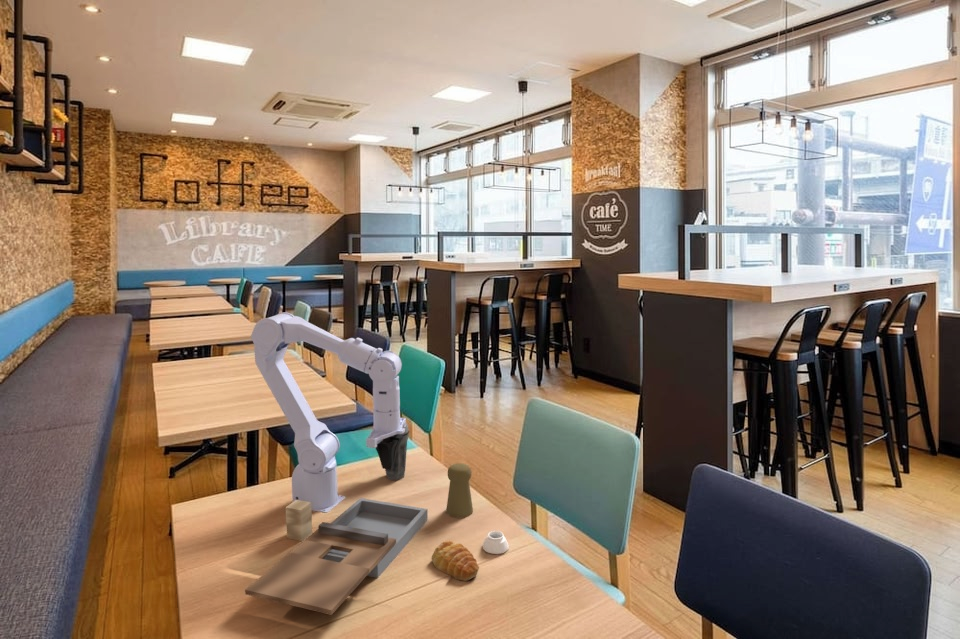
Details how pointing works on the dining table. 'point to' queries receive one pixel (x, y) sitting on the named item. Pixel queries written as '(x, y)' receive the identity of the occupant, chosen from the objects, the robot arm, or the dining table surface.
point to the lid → (323, 568)
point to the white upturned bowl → (495, 543)
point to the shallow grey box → (381, 526)
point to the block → (299, 520)
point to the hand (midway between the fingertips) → (387, 467)
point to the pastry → (455, 561)
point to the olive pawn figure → (459, 491)
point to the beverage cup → (399, 459)
